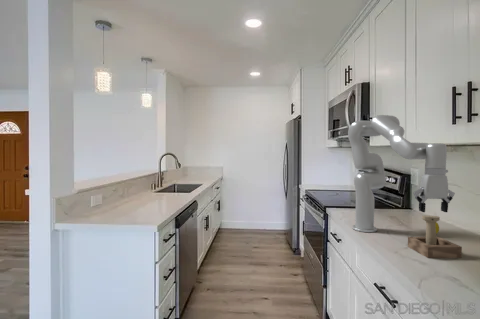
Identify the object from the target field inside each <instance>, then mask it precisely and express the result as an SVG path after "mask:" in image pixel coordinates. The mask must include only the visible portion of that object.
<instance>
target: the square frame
mask: <svg viewBox="0 0 480 319" xmlns="http://www.w3.org/2000/svg"><path fill="white" fill-rule="evenodd" d="M436 237H437V244H436V245H428V244H426V236H408V237H407V247H408V248H410V249H412V250H413V251H415V252H416V253H417V254H420V255H422V256H424V257H426V258H427V259H453V258H454V259H456V258H458V259H459V258H462V254H463V253H462V252H463V249H462V248H463V247H462V246H461V245H458V244H457V243H455V242H452V241H449V240H447V239H445V238H442V237H440V236H436Z"/></svg>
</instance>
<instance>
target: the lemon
mask: <svg viewBox="0 0 480 319" xmlns="http://www.w3.org/2000/svg"><path fill="white" fill-rule="evenodd" d="M435 226H436V235H437V234H438V233H439V231H440V225H439V223H438V221H437V222H436V224H435Z"/></svg>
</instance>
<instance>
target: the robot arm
mask: <svg viewBox="0 0 480 319" xmlns="http://www.w3.org/2000/svg"><path fill="white" fill-rule="evenodd" d="M404 135H405V128H404V127H402V126H401V125H400V119H399V118H397V117H396V116H395V115H388V114H387V115H386V114H385V115H384V114H379V115H376V116H374V117H373V118H372V119H371V120H356V121H354V122H352V123H351V124H350V125H349V127H348V131H347V136H348V141H349V143H350V148H351V154H352V161H353V165H354V167H355V169H356V170H358V171H362V172H359V173H357V174H356V175H355V176H354V179H353V183H354V184H353V185H354V190H355V217H354V218H355V219H354V221H355V223H354V224H353V225H352V229H353V230H355V231H358V232H363V233H374V232H375V233H376V232H377V231H378V228H377V227H376V226H375V194H374V192H373V191H372V190H379V189H382V188H384V187H385V185H386V182H387V181H386V180H387V178H386V173H385V167H384V163H383V162H384V161H383V159H382V157H381V155H379V154H378V153H375V152H369V151H370V150H369V146H368V143H367V141H366V139H364V138H363V137H379V136H382V137H384V138H385V139H386V140H388V142H389V144H390V147H391V149H392V150H393V151H394V152H395V153H396V154H398V155H399V156H400V157H402V158H404V159H406V160H425V161H424V174H422V176H421V179H420V184H419V189H417V190H415V191H413V195H414V199H416V200H417V202H418V211H419V212H422V213H425V212H426V201H427V200H429V199H431V200H441V202H440V203H441V204H440V211H441V212H444V213H448V211H449V204H450V203H451V201H452V200H453V198H454V196H455V194H456V193H455V192H454V191H452V190H450V189H449V182H448V181H449V180H448V176H447V173H449V170H448V169H447V152H448V151H447V150H448V148H447V145H446V144H445V143H437V142H435V143H431V142H430V143H428V142H410V141H409V140H408V139H406V137H405V138H404ZM364 171H365V172H364Z"/></svg>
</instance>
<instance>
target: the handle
mask: <svg viewBox="0 0 480 319" xmlns="http://www.w3.org/2000/svg"><path fill="white" fill-rule="evenodd" d="M440 218H441V217H440V216H439V215H438V216H437V215H422V216H421V219H422V220H423V221H425V223H426V226H425V237H426V244H428V245H436V244H437V237H438V236H437V234H436V226H435V224H436V222H437V223H438V222H439V221H440Z"/></svg>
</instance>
